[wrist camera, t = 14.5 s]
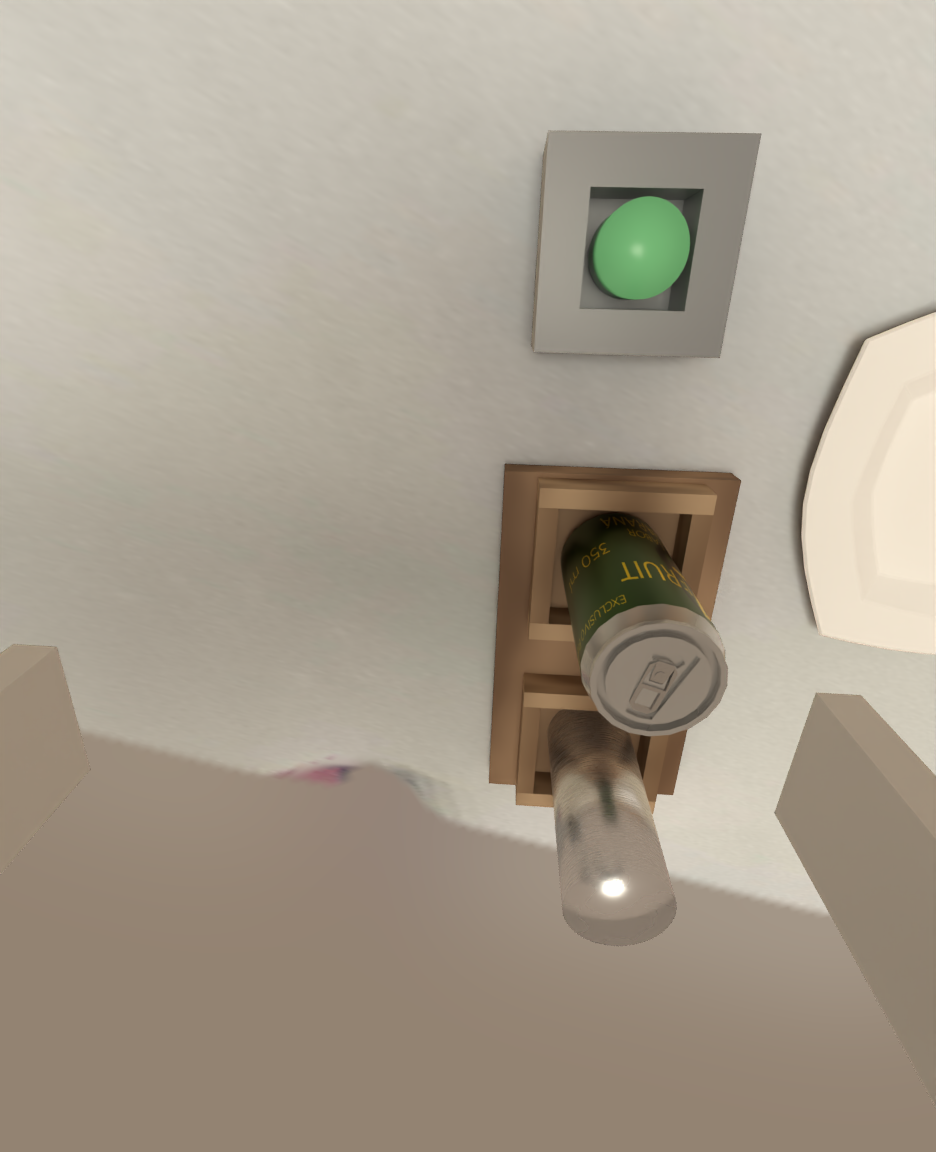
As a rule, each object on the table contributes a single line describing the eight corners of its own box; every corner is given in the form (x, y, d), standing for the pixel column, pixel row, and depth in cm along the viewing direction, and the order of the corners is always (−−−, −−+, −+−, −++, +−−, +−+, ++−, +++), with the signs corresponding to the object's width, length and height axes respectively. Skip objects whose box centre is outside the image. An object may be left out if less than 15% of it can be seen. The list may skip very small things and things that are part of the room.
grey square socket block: (531, 346, 30) (533, 352, 27) (543, 153, 27) (548, 130, 23) (694, 350, 30) (719, 358, 26) (726, 156, 27) (761, 133, 23)
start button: (584, 298, 28) (592, 298, 25) (592, 206, 26) (602, 195, 23) (664, 300, 27) (681, 300, 25) (677, 208, 26) (697, 197, 23)
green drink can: (633, 612, 34) (690, 758, 23) (544, 582, 34) (560, 716, 23) (677, 527, 32) (763, 645, 21) (582, 494, 32) (621, 596, 21)
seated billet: (544, 762, 39) (557, 941, 28) (550, 698, 37) (567, 864, 26) (622, 767, 39) (666, 949, 28) (633, 703, 37) (685, 873, 26)
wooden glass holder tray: (489, 767, 41) (487, 806, 38) (504, 464, 33) (504, 481, 30) (667, 778, 41) (680, 818, 38) (731, 472, 32) (755, 492, 29)
